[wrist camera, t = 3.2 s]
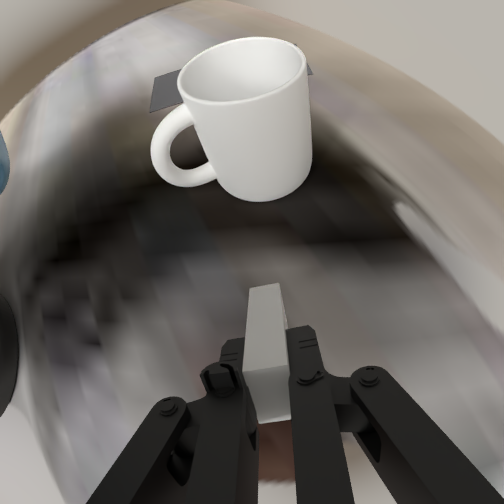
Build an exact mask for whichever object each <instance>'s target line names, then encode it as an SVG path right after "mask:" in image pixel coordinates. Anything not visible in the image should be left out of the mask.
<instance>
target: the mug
mask: <svg viewBox="0 0 504 504" xmlns="http://www.w3.org/2000/svg"><path fill="white" fill-rule="evenodd" d="M177 86H178V90H179V92H180V95H181V97H182V99H183V101H184V103H183V104H182V105H180V106H178V107H177V108H175V109H174V110H173V111H172V112H170V113H169V114H168V115H167V116H166V117H165V118H164V119H163V120H162V121H161V123H160V124H159V125H158V127H157V129H156V131H155V133H154V135H153V138H152V141H151V159H152V163H153V166H154V168H155V169H156V171H157V172H158V174H159V175H160V176H161V177H162V178H163V179H164V180H166V181H167V182H169V183H171V184H173V185H176V186H181V187H194V186H199V185H202V184H205V183H208V182H210V181H212V180H214V179H217V180H218V182H219V183H220V185H221V186H222V187H223V188H224V189H225V190H226V191H227V192H228V193H230V194H231V195H233V196H235V197H237V198H240V199H242V200H246V201H253V202H264V201H271V200H275V199H279V198H281V197H284V196H286V195H288V194H290V193H291V192H293V191H294V190H295V189H297V188H298V187H299V186H300V185H301V184H302V183H303V181H304V180H305V179H306V177H307V176H308V174H309V171H310V168H311V163H312V137H311V119H310V103H309V88H308V75H307V63H306V58H305V56H304V54H303V52H302V51H301V50H300V49H299V48H298V47H297V46H295V45H294V44H292V43H290V42H287V41H285V40H281V39H277V38H270V37H246V38H239V39H234V40H230V41H226V42H223V43H220V44H217V45H215V46H212V47H210V48H208V49H206V50H204V51H202V52H201V53H199V54H197V55H196V56H195V57H193V58H192V59H191V60H190V61H188V62H187V64H186V65H185V66H184V67H183V68H182V70H181V71H180V73H179V76H178V79H177ZM191 125H194V128H195V130H196V132H197V135H198V137H199V139H200V142H201V144H202V147H203V149H204V151H205V154H206V156H207V158H208V160H209V161H208V162H207V163H206V164H204V165H202V166H200V167H197V168H194V169H191V170H182V169H180V168H178V167H176V166H175V165H174V163H173V162H172V160H171V158H170V146H171V143H172V141H173V139H174V138H175V137H176V136H177V135H178V134H179V133H180V132H181V131H182V130H184V129H185V128H187V127H189V126H191Z"/></svg>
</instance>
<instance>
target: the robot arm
mask: <svg viewBox="0 0 504 504" xmlns="http://www.w3.org/2000/svg"><path fill="white" fill-rule="evenodd" d="M9 174H10V161H9V155H8V151H7V147H6V144H5V141H4V139H3V136H2V133H1V131H0V194H1V193H2V192H3V190H4V189H5V187H6V185H7V182H8V179H9ZM17 359H18V344H17V332H16V326H15V321H14V317H13V314H12V311H11V309H10V306H9V305H8V303H7V301H6V300H5V299H4V297H3V296H2V295H0V417H1V416H2V414H3V413H4V411H5V409H6V408H7V406H8V403H9V401H10V398H11V395H12V392H13V388H14V384H15V378H16V371H17ZM200 377H201V380H202V382H203V385H204V387H205V389H206V392H207V394H206V396H205V397H203V398H201V399H199V400H196V401H193V402H189V403H186V402H185V401H184V400H183V399H182V398H179V397H167V398H164V399H162V400H160V401H159V402H157V403H156V404H155V405H154V406H153V408H152V409H151V411H150V412H149V414H148V415H147V416H146V418H145V419H144V421H143V422H142V424H141V425H140V427H139V428H138V429H137V431H136V432H135V434H134V435H133V437H132V438H131V440H130V441H129V442H128V444H127V445H126V447H125V448H124V450H123V451H122V453H121V454H120V455H119V457H118V458H117V460H116V461H115V463H114V464H113V466H112V467H111V468H110V470H109V471H108V473H107V474H106V476H105V477H104V478H103V480H102V481H101V483H100V484H99V486H98V487H97V488H96V490H95V491H94V493H93V494H92V496H91V497H90V499H89V500H88V501H87V503H86V504H258V467H259V432H258V428H257V426H256V420H257V419H258V422H259V424H260V423H268V422H275V421H282V420H289V419H291V424H292V437H293V451H294V465H295V480H296V496H297V504H355V503H354V497H353V493H352V487H351V482H350V477H349V472H348V467H347V462H346V457H345V453H344V448H343V443H342V439H341V434H340V432H352V433H353V436H354V437H355V439H356V440H357V442H358V443H359V445H360V447H361V448H362V450H363V451H364V453H365V454H366V456H367V457H368V459H369V461H370V462H371V463H372V465H373V467H374V468H375V470H376V471H377V473H378V475H379V476H380V478H381V479H382V481H383V482H384V484H385V485H386V487H387V489H388V490H389V492H390V493H391V495H392V496H393V498H394V499H395V501H396V502H397V504H504V498H503V497H502V496H501V495H500V494H499V493H498V492H497V491H496V489H495V488H494V487H493V486H492V485H491V484H490V483H489V482H488V481H487V479H486V478H485V477H484V476H483V475H482V474H481V473H480V472H479V471H478V469H477V468H476V467H475V466H474V465H473V464H472V463H471V462H470V461H469V459H468V458H467V457H466V456H465V455H464V454H463V453H462V452H461V451H460V450H459V448H458V447H457V446H456V445H455V444H454V443H453V442H452V441H451V440H450V439H449V438H448V436H447V435H446V434H445V433H444V432H443V431H442V430H441V429H440V428H439V427H438V426H437V424H436V423H435V422H434V421H433V420H432V419H431V418H430V417H429V416H428V415H427V414H426V413H425V411H424V410H423V409H422V408H421V407H420V406H419V405H418V404H417V403H416V402H415V401H414V400H413V399H412V397H411V396H410V395H409V394H408V393H407V392H406V391H405V390H404V389H403V388H402V387H401V386H400V385H399V384H398V382H397V381H396V380H395V379H394V378H393V377H392V376H391V375H390V374H389V373H388V372H387V371H386V370H385V369H383V368H381V367H377V366H366V367H362V368H360V369H358V370H356V371H355V372H354V373H353V374H352V375H351V377H336V376H333V375H331V374H329V373H328V372H327V371H326V370H325V369H324V366H323V362H322V358H321V354H320V350H319V346H318V342H317V338H316V334H315V331H314V330H313V329H312V328H311V327H310V326H309V325H307V326H302V327H296V328H291V329H288V324H287V319H286V314H285V309H284V305H283V300H282V295H281V290H280V285H279V283H275V284H269V285H264V286H259V287H254V288H250V291H249V302H248V313H247V324H246V335H245V337H244V338H237V339H231V340H227V342H226V343H225V344H224V346H223V347H222V350H221V356H220V361H219V362H216V363H213V364H211V365H209V366H207V367H206V368H205V369H203V370H202V372H201V374H200Z"/></svg>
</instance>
